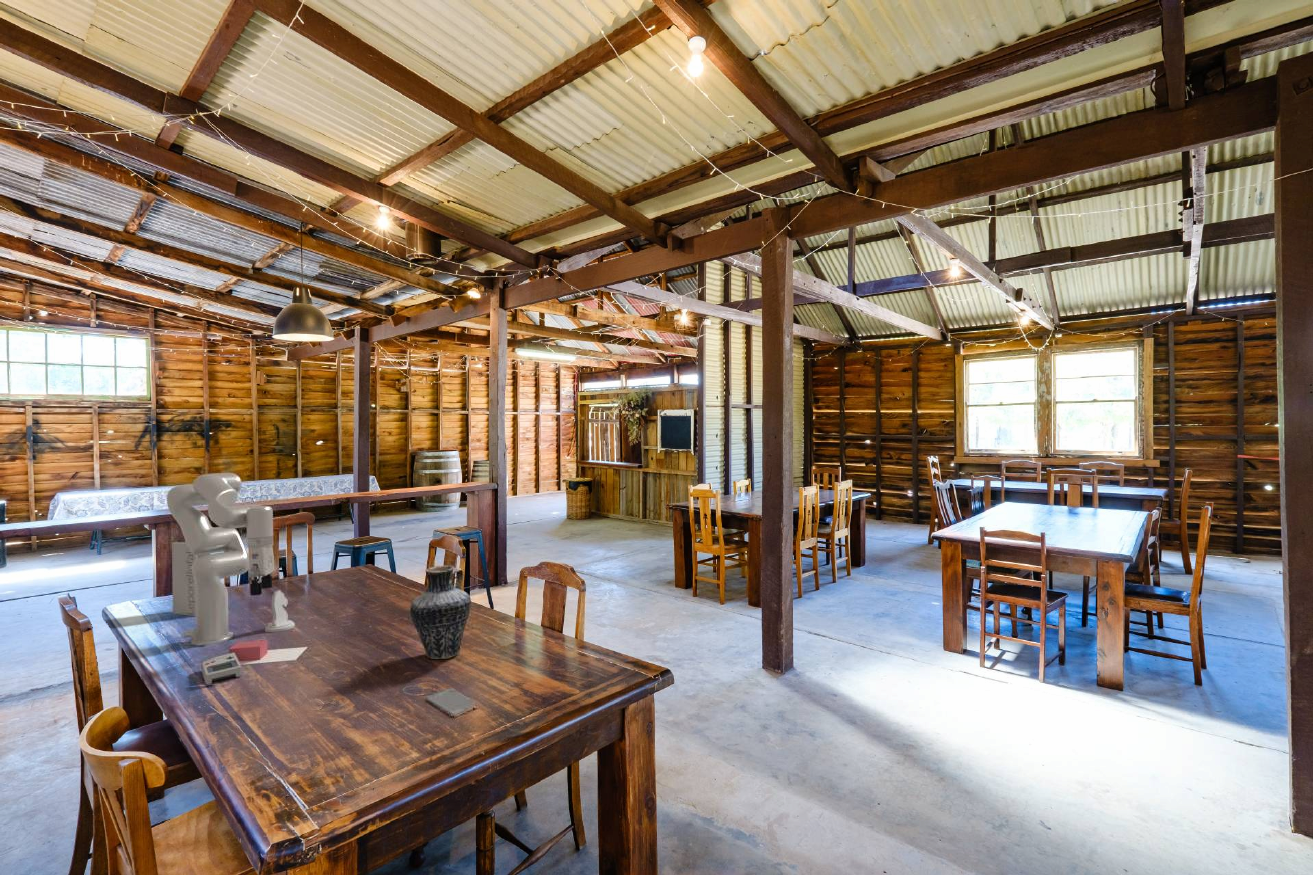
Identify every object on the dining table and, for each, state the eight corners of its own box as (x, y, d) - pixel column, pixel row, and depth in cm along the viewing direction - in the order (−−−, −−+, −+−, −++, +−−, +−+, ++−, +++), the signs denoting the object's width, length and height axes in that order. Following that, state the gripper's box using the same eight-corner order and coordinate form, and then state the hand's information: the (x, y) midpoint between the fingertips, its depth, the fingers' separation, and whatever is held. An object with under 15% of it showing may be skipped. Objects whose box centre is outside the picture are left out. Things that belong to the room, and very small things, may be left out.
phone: (452, 691, 172) (452, 687, 172) (481, 709, 161) (481, 704, 161) (425, 701, 166) (425, 696, 166) (453, 719, 155) (453, 715, 155)
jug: (451, 668, 187) (450, 576, 187) (398, 664, 191) (397, 573, 191) (483, 645, 208) (482, 562, 207) (434, 641, 212) (433, 559, 211)
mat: (219, 667, 189) (219, 666, 189) (236, 654, 200) (236, 652, 200) (295, 661, 194) (295, 659, 194) (307, 648, 206) (307, 646, 206)
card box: (229, 662, 192) (229, 648, 192) (237, 655, 198) (237, 642, 198) (260, 659, 194) (260, 646, 194) (267, 653, 200) (267, 640, 200)
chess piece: (300, 623, 232) (299, 586, 232) (284, 632, 222) (283, 593, 222) (276, 623, 232) (275, 586, 232) (258, 632, 223) (258, 593, 222)
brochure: (172, 613, 246) (171, 542, 246) (186, 609, 252) (185, 540, 251) (197, 616, 242) (196, 544, 242) (210, 612, 247) (209, 542, 247)
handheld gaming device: (235, 662, 191) (234, 651, 191) (242, 677, 181) (241, 665, 180) (201, 671, 185) (200, 659, 185) (206, 687, 174) (205, 674, 174)
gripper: (263, 545, 193) (264, 596, 193) (281, 537, 210) (282, 584, 210) (237, 547, 191) (238, 598, 191) (257, 538, 208) (258, 586, 208)
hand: (261, 591), depth 201 cm, fingers open, 9 cm apart
